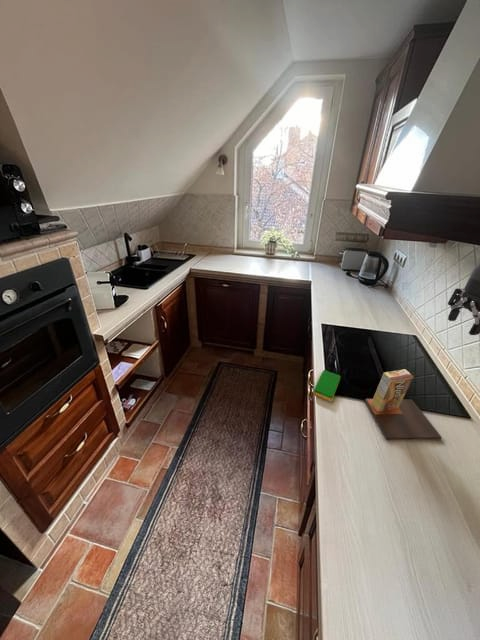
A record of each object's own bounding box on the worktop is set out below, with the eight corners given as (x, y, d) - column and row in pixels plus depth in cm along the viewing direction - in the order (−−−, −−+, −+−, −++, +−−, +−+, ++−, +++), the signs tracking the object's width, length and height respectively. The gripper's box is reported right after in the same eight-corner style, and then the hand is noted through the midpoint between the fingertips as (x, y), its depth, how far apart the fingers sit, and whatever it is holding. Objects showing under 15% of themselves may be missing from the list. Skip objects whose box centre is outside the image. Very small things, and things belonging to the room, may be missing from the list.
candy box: (390, 399, 95) (404, 368, 87) (399, 408, 91) (414, 376, 83) (370, 403, 93) (382, 372, 85) (378, 413, 89) (392, 380, 81)
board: (410, 401, 96) (412, 398, 95) (440, 439, 82) (442, 437, 81) (364, 400, 95) (364, 398, 95) (386, 439, 81) (387, 437, 81)
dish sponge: (339, 380, 105) (341, 375, 103) (331, 402, 94) (332, 397, 93) (322, 373, 108) (323, 369, 107) (312, 394, 97) (313, 390, 96)
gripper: (525, 288, 65) (493, 340, 73) (479, 270, 78) (455, 316, 86) (497, 287, 65) (467, 339, 73) (455, 269, 77) (434, 316, 85)
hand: (461, 327), depth 79 cm, fingers open, 8 cm apart
